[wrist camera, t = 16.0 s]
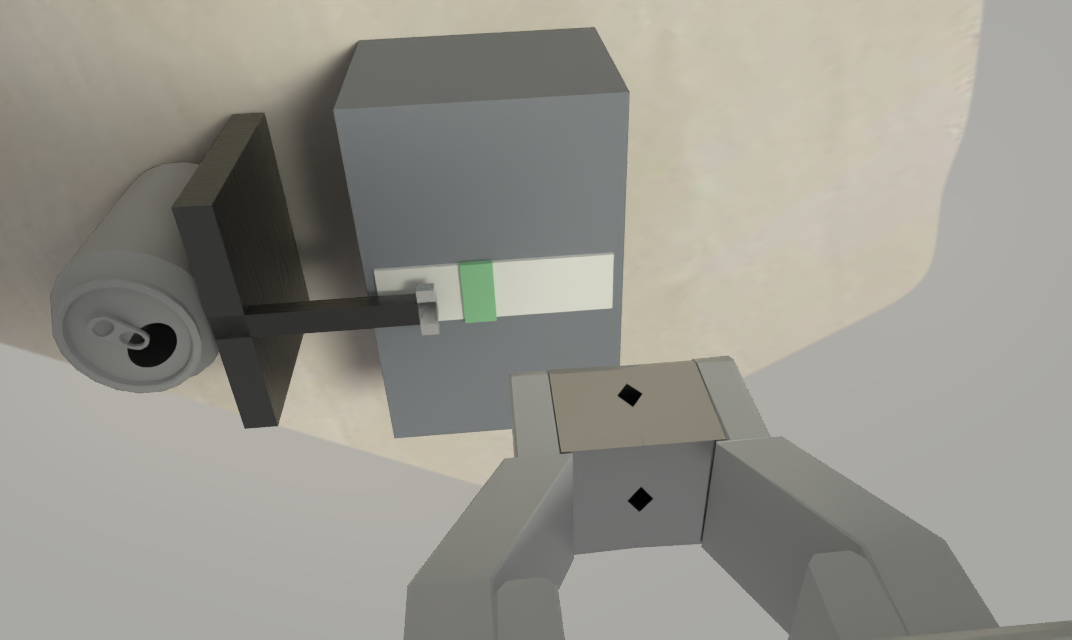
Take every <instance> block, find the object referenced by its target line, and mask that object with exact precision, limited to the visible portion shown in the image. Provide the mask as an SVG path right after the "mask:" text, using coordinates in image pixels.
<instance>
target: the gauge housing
mask: <svg viewBox="0 0 1072 640" xmlns="http://www.w3.org/2000/svg"><path fill="white" fill-rule="evenodd" d="M629 93H630V92H629V90H628V88H627V86H626V85H625V83H624V81H623V79H622V77H621V75H620V73H619V71H618V70H617V68H616V66H615V64H614V62H613V60H612V58H611V57H610V55H609V53H608V51H607V49H606V47H605V45H604V44H603V42H602V40H601V38H600V36H599V34H598V32H597V31H596V29H595V27H591V28H574V29H556V30H538V31H520V32H502V33H484V34H467V35H449V36H431V37H413V38H395V39H378V40H360V41H359V42H358V45H357V48H356V50H355V53H354V56H353V58H352V61H351V64H350V66H349V69H348V72H347V74H346V77H345V80H344V82H343V85H342V88H341V90H340V93H339V96H338V98H337V101H336V104H335V106H334V109H333V112H334V117H335V122H336V128H337V133H338V138H339V144H340V149H341V154H342V160H343V165H344V171H345V176H346V181H347V187H348V192H349V197H350V203H351V208H352V213H353V219H354V224H355V229H356V235H357V240H358V245H359V251H360V256H361V261H362V267H363V272H364V278H365V283H366V288H367V294H368V297H371V296H385V295H399V294H413V293H416V284H428V283H434V285H435V292H436V298H437V306H438V317H439V325H440V334H435V335H422V332H421V325H411V326H397V327H384V328H374V331H375V336H376V342H377V347H378V352H379V358H380V363H381V368H382V374H383V379H384V385H385V390H386V395H387V401H388V406H389V411H390V417H391V422H392V427H393V433H394V438H404V437H416V436H429V435H441V434H454V433H466V432H479V431H491V430H504V429H512V417H511V402H510V387H509V375H510V372H522V371H538V370H546V372H547V371H548V370H549V369H568V368H587V367H606V366H620V343H621V316H622V288H623V260H624V232H625V204H626V176H627V148H628V121H629Z"/></svg>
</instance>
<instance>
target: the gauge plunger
mask: <svg viewBox="0 0 1072 640" xmlns="http://www.w3.org/2000/svg"><path fill="white" fill-rule="evenodd" d="M171 209H172V212H173V215H174V218H175V221H176V224H177V227H178V230H179V233H180V236H181V239H182V242H183V245H184V248H185V251H186V254H187V257H188V260H189V263H190V266H191V269H192V272H193V275H194V278H195V281H196V284H197V287H198V290H199V293H200V296H201V299H202V302H203V305H204V308H205V311H206V314H207V317H208V320H209V323H210V326H211V329H212V332H213V335H214V338H215V341H216V344H217V347H218V350H219V353H220V356H221V359H222V362H223V365H224V368H225V371H226V374H227V377H228V380H229V383H230V386H231V389H232V392H233V395H234V398H235V401H236V404H237V407H238V410H239V413H240V416H241V419H242V422H243V425H244V428H245V429H246V428H258V427H271V426H278V424H279V420H280V417H281V413H282V410H283V406H284V402H285V399H286V395H287V392H288V388H289V384H290V381H291V377H292V374H293V370H294V366H295V363H296V359H297V356H298V352H299V348H300V345H301V341H302V338H303V334H304V333H315V332H329V331H343V330H356V329H370V328H384V327H397V326H411V325H421V332H422V335H435V334H440V325H439V317H438V306H437V298H436V292H435V285H434V283H428V284H416V293H413V294H399V295H385V296H371V297H357V298H343V299H329V300H315V301H310V300H309V296H308V292H307V288H306V284H305V280H304V275H303V271H302V267H301V263H300V259H299V254H298V250H297V246H296V242H295V238H294V234H293V229H292V225H291V221H290V217H289V213H288V208H287V204H286V200H285V196H284V192H283V188H282V183H281V179H280V175H279V171H278V167H277V162H276V158H275V154H274V150H273V146H272V142H271V137H270V133H269V129H268V125H267V121H266V116H265V113H252V114H235V115H232V117H231V118H230V120H229V121H228V123H227V124H226V126H225V127H224V129H223V130H222V132H221V133H220V135H219V136H218V138H217V139H216V141H215V142H214V144H213V145H212V147H211V148H210V150H209V151H208V153H207V154H206V156H205V157H204V159H203V160H202V162H201V163H200V165H199V166H198V168H197V169H196V171H195V172H194V174H193V175H192V177H191V178H190V180H189V181H188V183H187V184H186V186H185V187H184V189H183V190H182V192H181V193H180V195H179V196H178V198H177V200H176V201H175V203H174V204H173V206H172V207H171Z"/></svg>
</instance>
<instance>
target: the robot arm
mask: <svg viewBox="0 0 1072 640" xmlns="http://www.w3.org/2000/svg"><path fill="white" fill-rule="evenodd" d="M509 387H510V402H511V417H512V433H513V448H514V458H506V459H504V460H503V461H502V463H501V464H500V465H499V466H498V468H497V469H496V470H495V472H494V473H493V474H492V476H491V477H490V478H489V480H488V481H487V482H486V484H485V485H484V486H483V487H482V489H481V490H480V491H479V493H478V494H477V495H476V497H475V498H474V499H473V501H472V502H471V503H470V505H469V506H468V507H467V508H466V510H465V511H464V512H463V514H462V515H461V517H460V518H459V519H458V520H457V522H456V523H455V524H454V526H453V527H452V528H451V529H450V531H449V532H448V533H447V535H446V536H445V537H444V539H443V540H442V542H441V543H440V544H439V545H438V547H437V548H436V549H435V550H434V552H433V553H432V554H431V556H430V557H429V558H428V560H427V561H426V562H425V564H424V565H423V566H422V568H421V569H420V570H419V571H418V573H417V574H416V575H415V577H414V578H413V579H412V581H411V582H410V583H409V585H408V586H407V601H406V614H405V628H404V640H565V637H564V630H563V622H562V616H561V607H560V600H559V592H558V590H559V588H560V586H561V584H562V582H563V580H564V578H565V576H566V573H567V572H568V569H569V567H570V565H571V563H572V561H573V559H574V555H576V554H585V553H593V552H602V551H611V550H620V549H628V548H636V547H637V548H638V547H656V546H673V545H689V544H702V548H703V549H704V550H705V551H706V552H707V553H708V554H709V555H710V556H711V557H712V558H713V559H714V560H715V561H716V562H717V563H718V564H719V565H720V566H721V567H722V568H723V569H724V570H725V571H726V572H727V573H728V574H729V575H730V576H731V577H732V578H733V579H734V580H735V581H736V582H737V583H738V584H739V585H740V586H741V587H742V588H743V589H744V590H745V591H746V592H747V593H748V594H749V595H750V596H752V598H753V599H754V600H755V601H757V603H758V604H759V605H760V606H761V607H762V608H763V609H764V610H765V611H766V612H767V613H768V614H769V615H770V616H771V617H772V618H773V619H774V620H775V621H776V622H777V623H779V625H780V626H781V627H783V629H784V630H785V631H786V632H787V633H788V634H789V638H788V640H1072V620H1070V621H1059V622H1048V623H1038V624H1026V625H1016V626H1005V627H1000V626H999V625H998V623H997V622H996V620H995V619H994V617H993V615H992V614H991V612H990V611H989V609H988V607H987V606H986V605H985V603H984V601H983V600H982V598H981V596H980V595H979V593H978V592H977V590H976V589H975V587H974V585H973V584H972V582H971V581H970V579H969V577H968V576H967V574H966V573H965V571H964V570H963V568H962V566H961V565H960V563H959V562H958V560H957V558H956V557H955V555H954V554H953V552H952V551H951V549H950V547H949V546H948V544H947V543H946V541H945V540H944V539H942V538H941V537H939V536H938V535H936V534H934V533H932V532H931V531H930V530H928V529H927V528H925V527H923V526H922V525H920V524H919V523H917V522H916V521H914V520H912V519H911V518H909V517H908V516H906V515H905V514H903V513H901V512H900V511H898V510H897V509H895V508H894V507H892V506H890V505H889V504H887V503H886V502H884V501H883V500H881V499H879V498H877V497H876V496H875V495H873V494H872V493H870V492H868V491H867V490H865V489H864V488H862V487H861V486H859V485H857V484H856V483H854V482H853V481H851V480H850V479H848V478H846V477H845V476H843V475H842V474H840V473H839V472H837V471H835V470H834V469H832V468H831V467H829V466H828V465H826V464H825V463H823V462H821V461H820V460H818V459H817V458H815V457H813V456H812V455H810V454H809V453H807V452H806V451H804V450H802V449H801V448H799V447H797V446H796V445H795V444H793V443H791V442H790V441H788V440H787V439H785V438H784V437H781V436H779V437H771V436H770V434H769V432H768V430H767V428H766V426H765V424H764V422H763V420H762V417H761V416H760V413H759V411H758V409H757V407H756V405H755V403H754V401H753V399H752V397H751V395H750V393H749V390H748V388H747V386H746V384H745V382H744V380H743V378H742V376H741V374H740V372H739V369H738V367H737V365H736V363H735V361H734V359H732V358H731V357H729V356H720V357H710V358H700V359H692V361H677V362H664V363H652V364H640V365H627V366H606V367H587V368H568V369H549V370H548V371H547V372H546V370H538V371H522V372H510V375H509Z"/></svg>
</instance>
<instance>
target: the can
mask: <svg viewBox="0 0 1072 640" xmlns="http://www.w3.org/2000/svg"><path fill="white" fill-rule="evenodd" d="M198 166H199V165H198V164H193V163H189V162H180V163H165V164H162V165H159V166H157V167H154V168H152V169H149V170H147V171H145V172H144V173H143V174H142V175H140V176H139V177H138V178H137V179H136V180H135V181H134V182H133V183H132V184H131V185H130V186H129V188H128V189H127V190H126V191H125V193H124V194H123V195H122V196H121V198H120V199H119V200H118V201H117V203H116V204H115V205H114V206H113V208H112V209H111V210H110V211H109V213H108V214H107V215H106V216H105V218H104V219H103V220H102V221H101V223H100V224H99V225H98V226H97V228H96V229H95V230H94V231H93V233H92V234H91V235H90V236H89V238H88V239H87V240H86V241H85V243H84V244H83V245H82V246H81V248H80V249H79V250H78V251H77V253H76V254H75V255H74V256H73V258H72V259H71V260H70V261H69V263H68V264H67V265H66V266H65V268H64V269H63V270H62V271H61V273H60V274H59V275H58V277H57V279H56V282H55V284H54V287H53V289H52V292H51V294H50V301H51V315H52V330H53V337H54V339H55V341H56V343H57V345H58V347H59V349H60V351H61V353H62V355H63V356H64V357H65V358H66V359H67V360H68V361H69V362H70V363H71V364H72V365H73V366H74V367H75V368H76V369H77V370H78V371H80V372H81V373H83V374H85V375H86V376H88V377H89V378H91V379H92V380H94V381H95V382H98V383H100V384H103V385H106V386H108V387H111V388H114V389H116V390H122V391H128V392H135V393H149V392H161V391H164V390H167V389H170V388H172V387H175V386H178V385H180V384H181V383H183V382H184V381H185V380H186V379H187V378H189V377H192V376H195V375H197V374H199V373H200V372H201V371H202V370H204V369H205V368H206V367H207V366H209V365H210V364H211V363H212V362H213V361H214V360H215V358H216V356H217V354H218V352H219V350H218V347H217V344H216V341H215V338H214V335H213V332H212V329H211V326H210V323H209V320H208V317H207V314H206V311H205V308H204V305H203V302H202V299H201V296H200V293H199V290H198V287H197V284H196V281H195V278H194V275H193V272H192V269H191V266H190V263H189V260H188V257H187V254H186V251H185V248H184V245H183V242H182V239H181V236H180V233H179V230H178V227H177V224H176V221H175V218H174V215H173V212H172V209H171V207H172V206H173V204H174V203H175V201H176V200H177V198H178V196H179V195H180V193H181V192H182V190H183V189H184V187H185V186H186V184H187V183H188V181H189V180H190V178H191V177H192V175H193V174H194V172H195V171H196V169H197V168H198Z"/></svg>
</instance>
